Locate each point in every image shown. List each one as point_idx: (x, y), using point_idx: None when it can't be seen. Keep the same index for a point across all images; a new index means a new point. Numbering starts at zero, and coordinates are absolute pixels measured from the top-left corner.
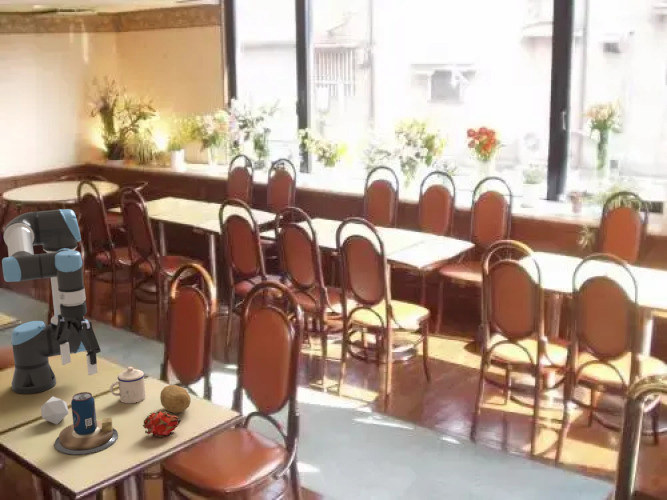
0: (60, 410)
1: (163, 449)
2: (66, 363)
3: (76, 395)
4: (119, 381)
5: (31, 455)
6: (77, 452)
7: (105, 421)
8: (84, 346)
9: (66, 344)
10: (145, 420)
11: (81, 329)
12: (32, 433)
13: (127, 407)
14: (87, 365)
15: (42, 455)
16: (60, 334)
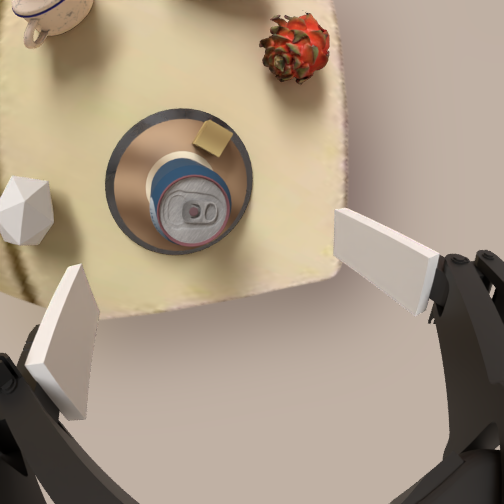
0: (46, 206)
1: (337, 95)
2: (92, 294)
3: (164, 222)
4: (36, 16)
5: (164, 298)
6: (229, 228)
7: (218, 144)
8: (444, 352)
9: (60, 378)
10: (290, 70)
11: (502, 461)
12: (66, 267)
13: (92, 33)
14: (368, 279)
15: (179, 283)
16: (17, 473)
